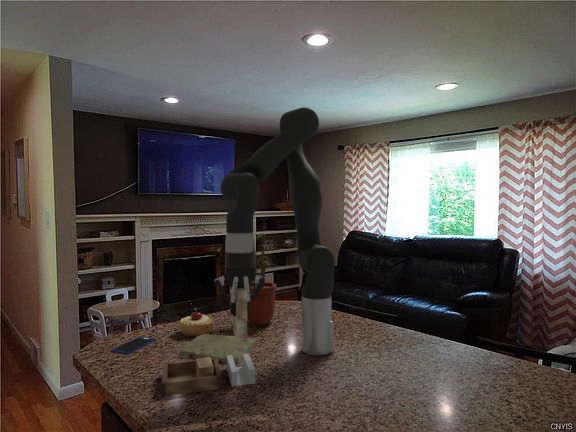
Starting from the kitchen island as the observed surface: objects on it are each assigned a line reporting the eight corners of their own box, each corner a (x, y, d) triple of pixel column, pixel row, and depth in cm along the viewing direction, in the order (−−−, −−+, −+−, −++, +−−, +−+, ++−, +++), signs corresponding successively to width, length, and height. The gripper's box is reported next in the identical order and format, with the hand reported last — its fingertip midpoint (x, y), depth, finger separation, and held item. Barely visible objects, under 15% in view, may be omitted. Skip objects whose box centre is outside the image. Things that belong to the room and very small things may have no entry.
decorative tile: (200, 342, 134) (200, 331, 134) (257, 346, 130) (257, 335, 130) (173, 364, 115) (173, 352, 115) (239, 369, 111) (239, 357, 111)
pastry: (184, 342, 134) (183, 316, 134) (176, 331, 145) (174, 307, 144) (218, 335, 140) (217, 310, 139) (207, 325, 150) (207, 302, 150)
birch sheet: (242, 330, 109) (242, 283, 108) (247, 341, 100) (247, 290, 100) (233, 331, 108) (233, 283, 108) (237, 342, 99) (237, 291, 99)
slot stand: (248, 369, 110) (248, 353, 110) (255, 387, 100) (255, 369, 100) (226, 371, 109) (226, 355, 109) (231, 390, 98) (231, 372, 98)
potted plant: (283, 322, 154) (283, 232, 153) (254, 332, 142) (254, 235, 141) (252, 314, 165) (252, 230, 164) (223, 322, 154) (222, 233, 153)
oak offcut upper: (210, 365, 105) (210, 356, 105) (213, 375, 99) (213, 366, 99) (196, 367, 104) (196, 358, 104) (199, 377, 98) (199, 368, 98)
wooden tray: (217, 371, 109) (217, 357, 109) (221, 392, 97) (221, 376, 97) (164, 377, 105) (163, 362, 105) (161, 400, 93) (161, 383, 93)
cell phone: (157, 340, 135) (157, 338, 135) (128, 355, 122) (128, 353, 122) (139, 338, 137) (139, 336, 137) (109, 352, 124) (109, 350, 124)
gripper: (263, 247, 109) (263, 310, 109) (211, 248, 105) (211, 313, 106) (268, 250, 102) (268, 317, 102) (213, 252, 98) (213, 321, 98)
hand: (239, 315), depth 104 cm, fingers closed on birch sheet, 2 cm apart
